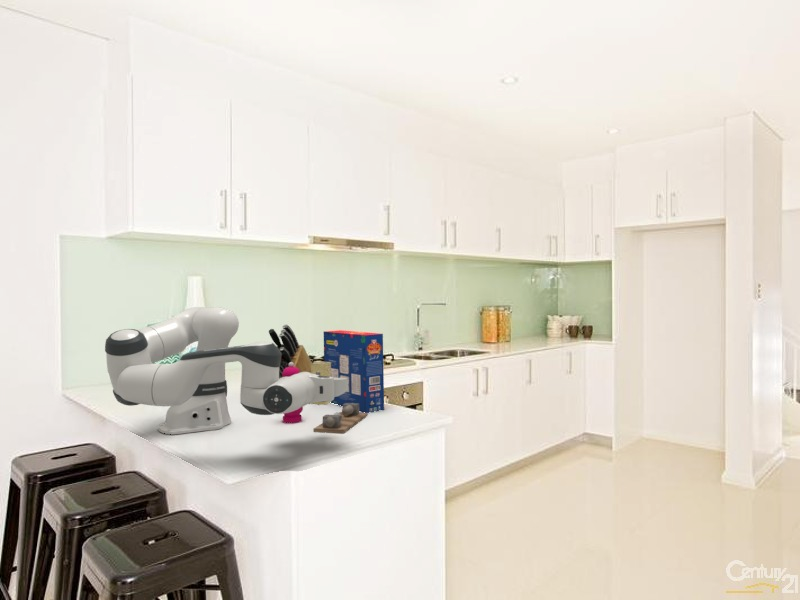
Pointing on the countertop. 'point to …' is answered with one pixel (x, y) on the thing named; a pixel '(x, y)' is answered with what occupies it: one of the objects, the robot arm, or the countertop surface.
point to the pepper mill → (295, 415)
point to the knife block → (290, 350)
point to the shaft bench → (344, 424)
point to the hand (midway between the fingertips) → (322, 380)
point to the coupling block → (321, 373)
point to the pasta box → (357, 367)
